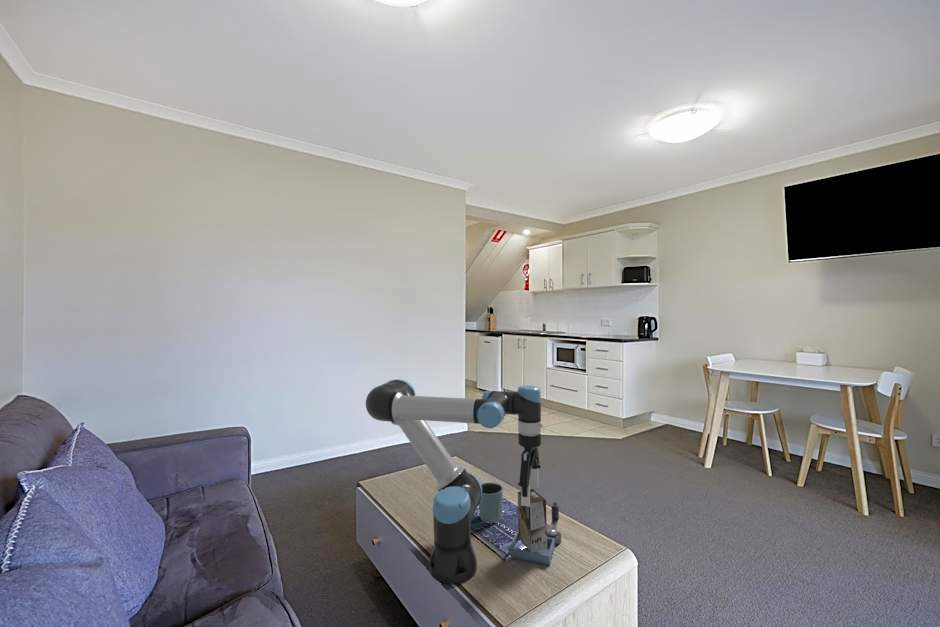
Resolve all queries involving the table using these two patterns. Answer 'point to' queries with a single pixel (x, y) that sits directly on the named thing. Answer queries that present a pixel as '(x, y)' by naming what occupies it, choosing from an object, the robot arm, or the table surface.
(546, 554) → the tray
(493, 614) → the table surface
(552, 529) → the crank
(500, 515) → the green cup
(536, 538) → the coffee box
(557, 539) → the crank base
